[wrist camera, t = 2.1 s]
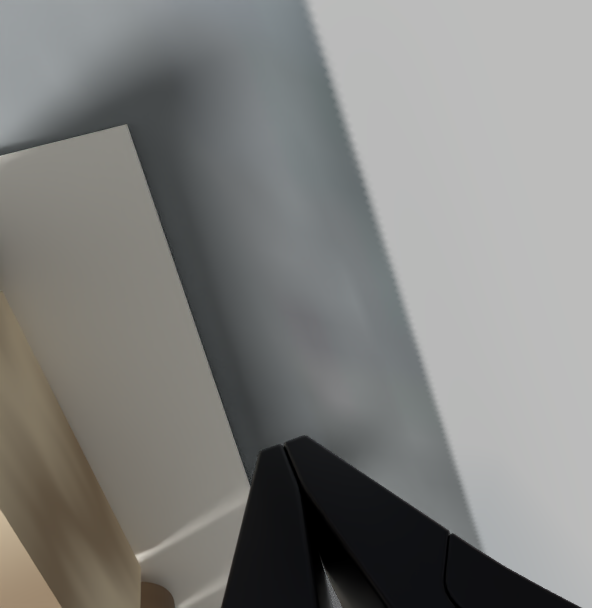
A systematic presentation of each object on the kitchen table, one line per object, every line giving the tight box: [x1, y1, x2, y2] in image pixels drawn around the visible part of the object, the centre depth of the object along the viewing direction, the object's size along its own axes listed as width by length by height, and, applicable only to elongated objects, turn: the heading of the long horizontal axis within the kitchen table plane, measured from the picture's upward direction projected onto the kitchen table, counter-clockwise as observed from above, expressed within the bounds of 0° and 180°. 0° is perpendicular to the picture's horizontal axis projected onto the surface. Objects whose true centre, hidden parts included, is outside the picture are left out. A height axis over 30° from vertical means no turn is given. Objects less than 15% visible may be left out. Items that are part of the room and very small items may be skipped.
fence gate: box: [0, 291, 175, 608], centre depth 11 cm, size 14×2×6 cm, turn 12°
